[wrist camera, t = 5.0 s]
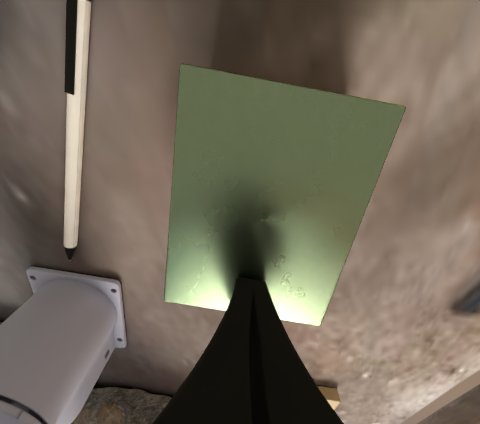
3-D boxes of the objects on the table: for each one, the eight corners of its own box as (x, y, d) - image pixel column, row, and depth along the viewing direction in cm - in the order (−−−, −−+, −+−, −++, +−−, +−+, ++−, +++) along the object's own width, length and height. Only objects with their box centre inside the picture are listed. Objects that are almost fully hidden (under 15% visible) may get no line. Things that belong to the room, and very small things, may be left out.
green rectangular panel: (317, 317, 12) (320, 326, 12) (167, 293, 12) (163, 301, 11) (396, 107, 9) (407, 106, 8) (184, 66, 8) (179, 62, 8)
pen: (97, -34, 11) (81, -47, 10) (79, 258, 20) (69, 267, 19) (78, -43, 11) (60, -57, 10) (68, 255, 19) (58, 264, 18)
